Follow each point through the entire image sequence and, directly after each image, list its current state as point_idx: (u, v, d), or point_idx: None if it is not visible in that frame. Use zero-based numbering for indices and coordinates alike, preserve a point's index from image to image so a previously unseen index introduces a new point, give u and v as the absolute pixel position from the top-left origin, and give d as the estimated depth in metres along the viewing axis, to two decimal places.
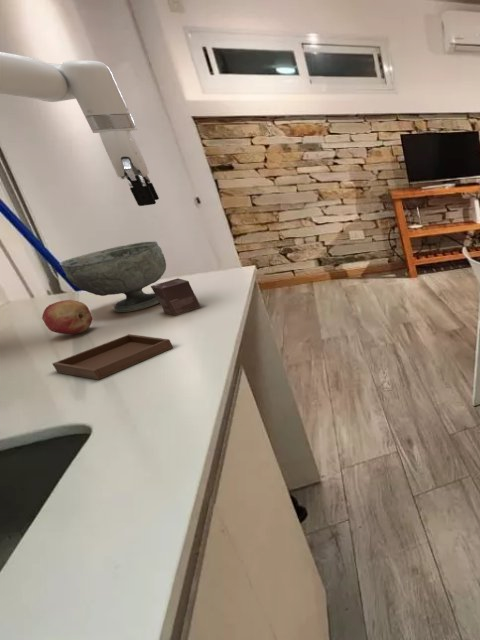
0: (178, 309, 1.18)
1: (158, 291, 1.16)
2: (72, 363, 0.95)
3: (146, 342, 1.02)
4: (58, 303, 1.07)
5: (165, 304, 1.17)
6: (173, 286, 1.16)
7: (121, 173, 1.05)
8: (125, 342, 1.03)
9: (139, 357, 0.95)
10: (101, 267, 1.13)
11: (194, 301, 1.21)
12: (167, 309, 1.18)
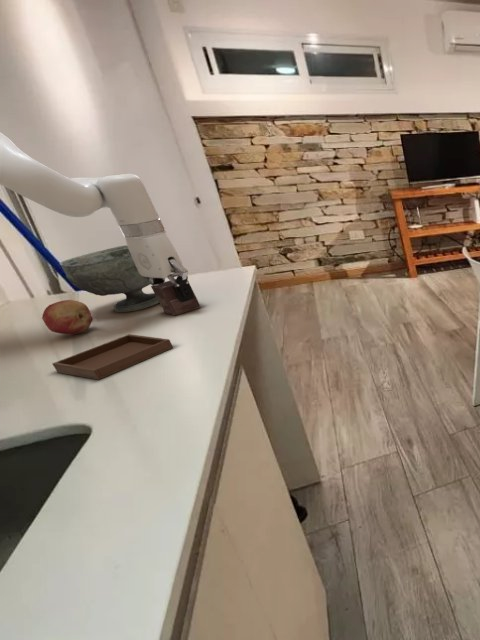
0: (178, 309, 1.18)
1: (158, 291, 1.16)
2: (72, 363, 0.95)
3: (146, 342, 1.02)
4: (58, 303, 1.07)
5: (165, 304, 1.17)
6: (173, 286, 1.16)
7: (168, 272, 1.13)
8: (125, 342, 1.03)
9: (139, 357, 0.95)
10: (101, 267, 1.13)
11: (194, 301, 1.21)
12: (167, 309, 1.18)
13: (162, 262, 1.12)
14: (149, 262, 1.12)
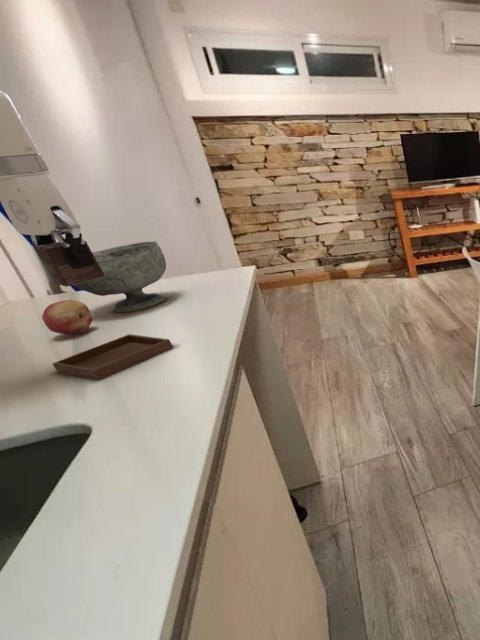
0: (71, 279, 0.88)
1: (42, 253, 0.86)
2: (72, 363, 0.95)
3: (146, 342, 1.02)
4: (58, 303, 1.07)
5: (53, 271, 0.87)
6: (63, 247, 0.87)
7: (51, 227, 0.84)
8: (125, 342, 1.03)
9: (139, 357, 0.95)
10: (101, 267, 1.13)
11: (95, 269, 0.91)
12: (56, 278, 0.88)
13: (42, 212, 0.82)
14: (24, 212, 0.83)
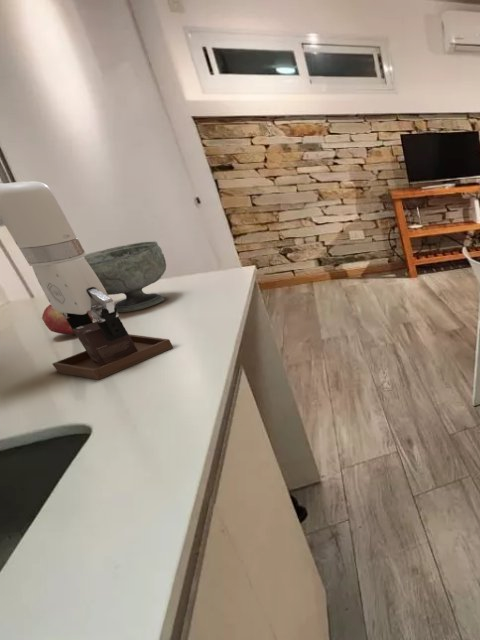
0: (108, 358, 0.93)
1: (81, 336, 0.91)
2: (72, 363, 0.95)
3: (146, 342, 1.02)
4: None
5: (91, 352, 0.93)
6: (100, 329, 0.92)
7: (87, 307, 0.88)
8: None
9: (139, 357, 0.95)
10: (101, 267, 1.13)
11: (130, 346, 0.96)
12: (94, 358, 0.93)
13: (79, 295, 0.87)
14: (62, 295, 0.87)
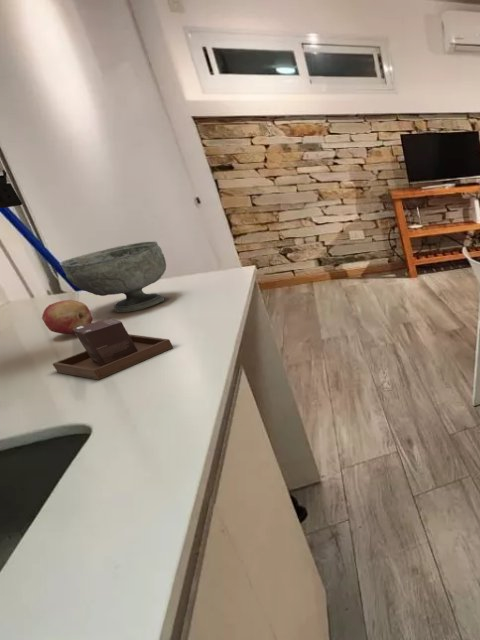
0: (108, 358, 0.93)
1: (81, 336, 0.91)
2: (72, 363, 0.95)
3: (146, 342, 1.02)
4: (58, 303, 1.07)
5: (91, 352, 0.93)
6: (100, 329, 0.92)
7: None
8: None
9: (139, 357, 0.95)
10: (101, 267, 1.13)
11: (130, 346, 0.96)
12: (94, 358, 0.93)
13: None
14: None
